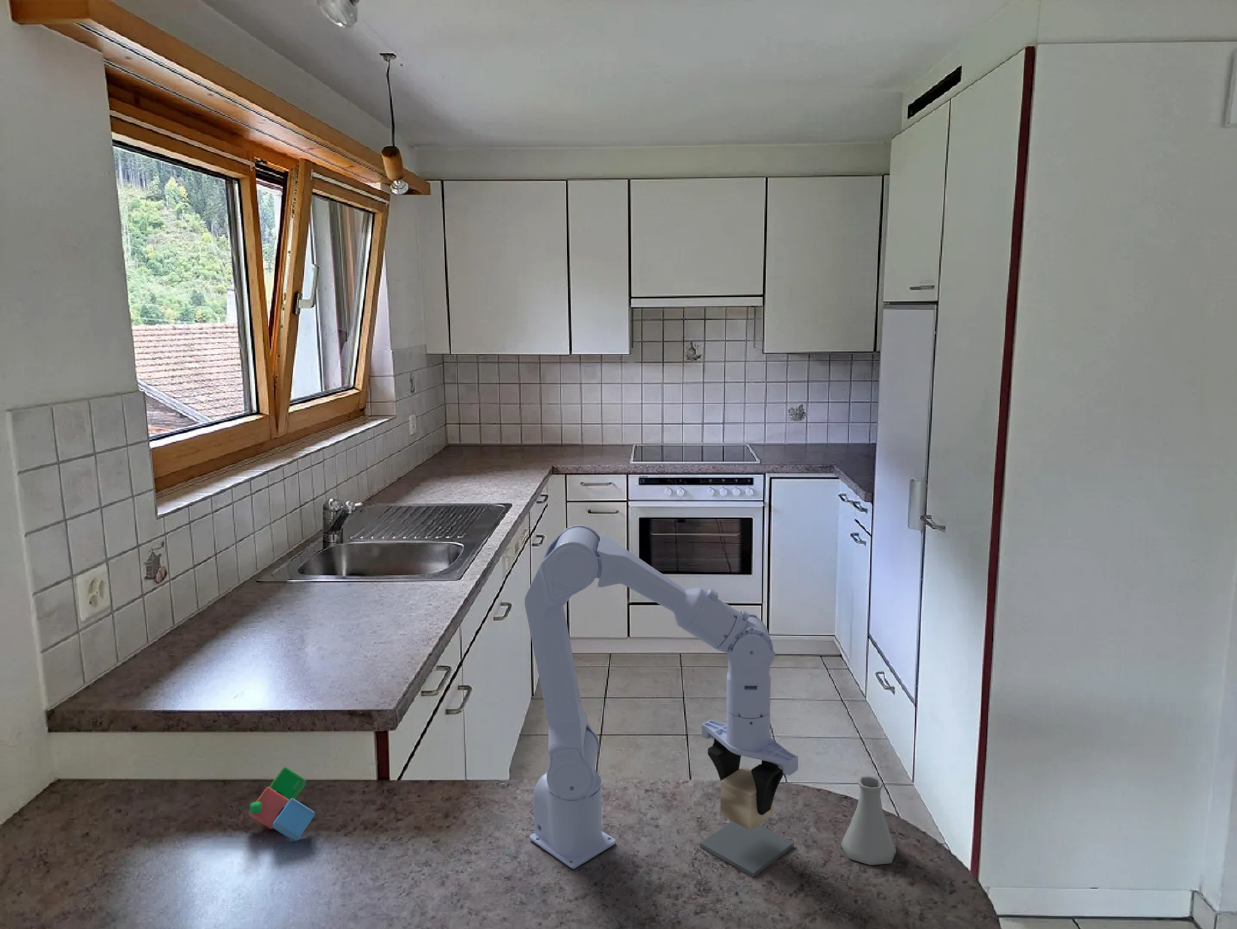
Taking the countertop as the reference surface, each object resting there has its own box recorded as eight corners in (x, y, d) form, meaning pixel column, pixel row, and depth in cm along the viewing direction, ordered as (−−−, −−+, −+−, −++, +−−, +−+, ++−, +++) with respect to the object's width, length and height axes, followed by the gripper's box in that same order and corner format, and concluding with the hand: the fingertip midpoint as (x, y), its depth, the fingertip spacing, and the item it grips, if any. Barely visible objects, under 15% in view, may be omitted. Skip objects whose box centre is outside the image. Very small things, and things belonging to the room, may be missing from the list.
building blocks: (293, 846, 123) (297, 840, 113) (246, 817, 123) (246, 808, 113) (327, 797, 128) (333, 787, 118) (281, 768, 127) (284, 755, 118)
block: (720, 815, 113) (720, 780, 112) (743, 800, 116) (743, 766, 116) (750, 830, 109) (750, 795, 109) (773, 814, 113) (773, 780, 112)
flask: (899, 870, 109) (902, 799, 107) (841, 863, 110) (843, 794, 108) (893, 836, 116) (896, 770, 114) (839, 831, 117) (841, 765, 115)
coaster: (700, 847, 114) (700, 843, 114) (740, 819, 120) (740, 815, 120) (753, 877, 108) (753, 873, 107) (793, 846, 114) (793, 842, 114)
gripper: (812, 716, 108) (810, 812, 110) (724, 682, 118) (724, 771, 121) (780, 735, 103) (778, 835, 105) (691, 699, 113) (691, 791, 116)
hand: (747, 802), depth 113 cm, fingers closed on block, 5 cm apart
